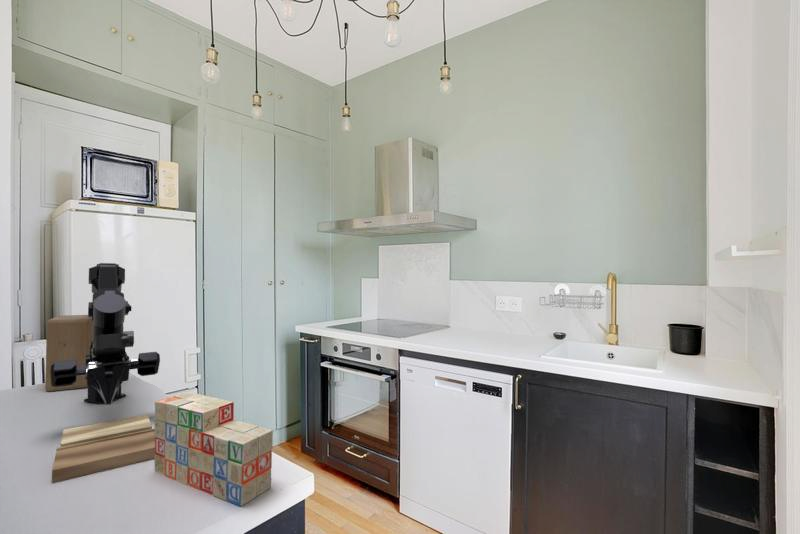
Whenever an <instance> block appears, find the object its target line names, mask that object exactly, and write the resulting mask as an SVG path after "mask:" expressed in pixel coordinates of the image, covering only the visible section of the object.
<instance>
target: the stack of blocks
mask: <svg viewBox="0 0 800 534" xmlns="http://www.w3.org/2000/svg"><path fill="white" fill-rule="evenodd" d="M234 404H235V403H234V401H231V400H226V399H221V398H219V397H213V396H208V395H204V394H199V393H196V392H191V391H187V392H186V391H185V392H183V393H180V394H176V395H173V396H169V397H166V398H162V399H159V400H157V401H156V400H155V402H154V428H155V459H154V472H155V471H156V473H159V474H160V473H161V474H160V475H162V474H163V475H162V476H165V477H167V478H169V479H171V480H174V481H176V482H178V483H180V484H182V485H184V486H189V487H192V488H194V489H197V490H199V491H202V492H204V493H207V494H209V495H212V496H214V497H215V498H219V499H221V500H223V501H226V502H228V503H230V504H232V505H236V506H238V507H242V506H244V505H245V504H247V503H249V502H250V501H252V500H253V499H255V498H256V497H258V496H260V495H262V494H263V493H265V492H266V491H268V490H269V489H270V488H271V487H272V463H273V462H272V461H273V459H272V457H273V454H272V453H273V452H272V450H273V443H274V442H273V441H274V440H273V438H274V437H273V436H274V434H273V431H274V430H273V429H271V428H265V427H263V426H259V425H256V424H252V423H248V422H245V421H241V420H237V419H236V420H234V417H235V416H234V411H235V409H234Z"/></svg>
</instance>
